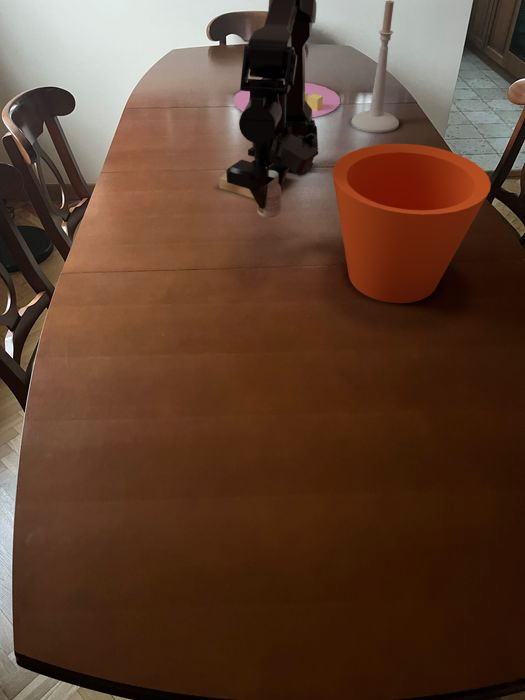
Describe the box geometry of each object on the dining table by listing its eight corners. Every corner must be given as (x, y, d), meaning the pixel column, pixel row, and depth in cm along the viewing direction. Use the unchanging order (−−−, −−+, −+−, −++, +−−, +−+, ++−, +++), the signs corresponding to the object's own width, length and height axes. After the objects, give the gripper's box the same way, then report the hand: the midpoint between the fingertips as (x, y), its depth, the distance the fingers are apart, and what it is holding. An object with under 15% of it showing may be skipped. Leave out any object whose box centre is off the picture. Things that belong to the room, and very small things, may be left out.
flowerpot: (321, 239, 118) (328, 143, 105) (447, 241, 117) (470, 144, 104) (328, 318, 100) (337, 213, 86) (477, 320, 99) (510, 215, 86)
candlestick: (403, 118, 165) (422, -4, 144) (391, 135, 156) (409, 7, 136) (359, 112, 169) (372, -9, 148) (345, 128, 160) (356, 2, 140)
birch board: (218, 188, 135) (218, 177, 133) (245, 169, 142) (245, 159, 140) (259, 200, 130) (259, 189, 129) (284, 180, 137) (285, 170, 136)
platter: (307, 128, 160) (307, 116, 157) (211, 106, 173) (211, 94, 170) (358, 93, 180) (359, 81, 177) (269, 75, 192) (269, 64, 190)
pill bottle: (256, 207, 113) (256, 169, 108) (279, 206, 114) (279, 168, 108) (258, 218, 110) (257, 180, 105) (281, 217, 110) (282, 179, 105)
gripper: (281, 149, 91) (279, 237, 101) (336, 111, 103) (330, 193, 113) (222, 134, 95) (226, 219, 106) (281, 99, 107) (280, 179, 118)
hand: (268, 202), depth 110 cm, fingers closed on pill bottle, 4 cm apart
